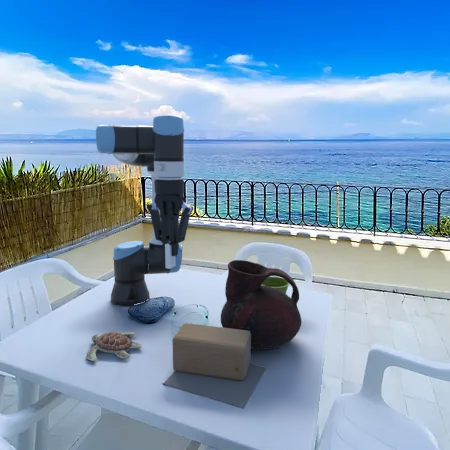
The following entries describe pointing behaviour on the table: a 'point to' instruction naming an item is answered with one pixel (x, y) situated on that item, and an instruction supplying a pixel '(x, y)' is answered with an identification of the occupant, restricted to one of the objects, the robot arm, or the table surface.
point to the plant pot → (276, 283)
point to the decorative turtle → (112, 344)
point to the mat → (218, 385)
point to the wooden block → (212, 351)
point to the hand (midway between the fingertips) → (170, 266)
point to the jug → (260, 305)
